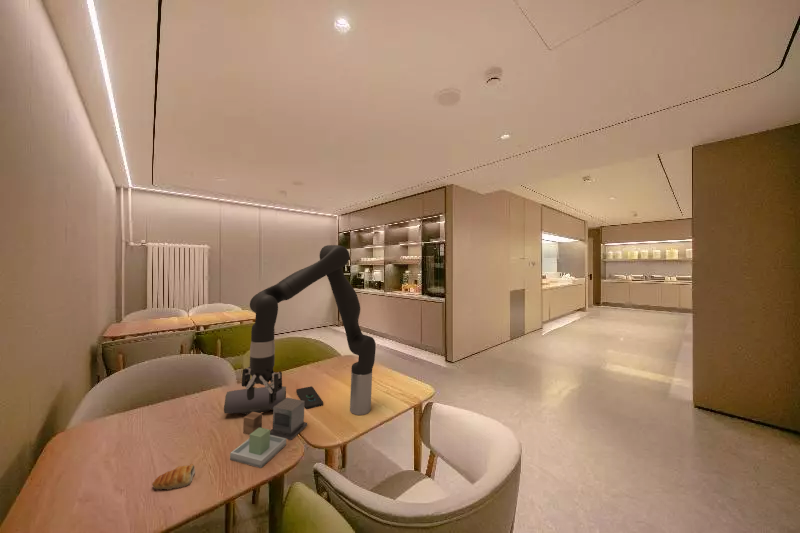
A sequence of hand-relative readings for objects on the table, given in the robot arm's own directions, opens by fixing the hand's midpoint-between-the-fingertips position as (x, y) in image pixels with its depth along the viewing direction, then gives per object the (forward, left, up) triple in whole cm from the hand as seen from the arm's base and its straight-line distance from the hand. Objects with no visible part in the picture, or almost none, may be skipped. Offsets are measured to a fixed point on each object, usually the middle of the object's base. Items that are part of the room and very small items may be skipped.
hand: (261, 401), depth 96 cm
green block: (0, 0, -16) cm, 16 cm away
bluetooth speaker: (-21, -20, -18) cm, 34 cm away
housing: (-14, +1, -17) cm, 22 cm away
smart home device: (-39, -6, -18) cm, 43 cm away
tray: (0, 0, -17) cm, 17 cm away
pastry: (+18, -13, -18) cm, 28 cm away
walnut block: (-9, -11, -17) cm, 22 cm away
